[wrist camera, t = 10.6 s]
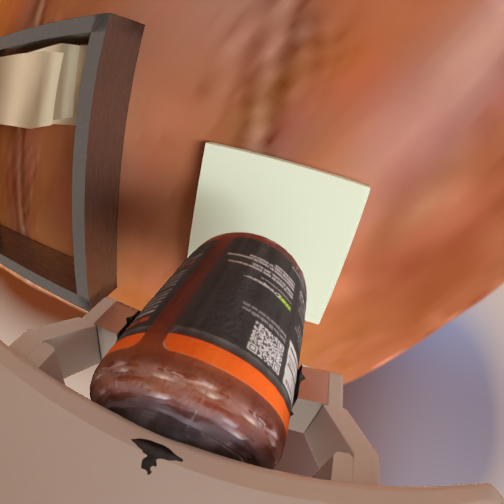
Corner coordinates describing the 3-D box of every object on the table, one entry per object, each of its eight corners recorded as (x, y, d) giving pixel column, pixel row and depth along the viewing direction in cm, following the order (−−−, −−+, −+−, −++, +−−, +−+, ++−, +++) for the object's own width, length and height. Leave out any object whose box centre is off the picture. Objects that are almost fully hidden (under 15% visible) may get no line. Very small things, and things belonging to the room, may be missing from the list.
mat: (368, 185, 18) (370, 188, 17) (319, 317, 22) (318, 324, 21) (210, 141, 19) (205, 142, 18) (188, 277, 23) (184, 282, 22)
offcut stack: (108, 47, 17) (50, 38, 12) (96, 125, 20) (37, 136, 15) (18, 59, 19) (-31, 61, 13) (11, 120, 21) (-37, 130, 16)
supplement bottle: (181, 311, 17) (63, 485, 7) (200, 210, 14) (1, 390, 4) (286, 348, 16) (232, 557, 6) (328, 252, 14) (305, 529, 4)
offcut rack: (144, 25, 16) (110, 12, 12) (116, 287, 25) (90, 312, 22) (0, 47, 18) (-29, 47, 14) (-4, 231, 27) (-29, 244, 24)
